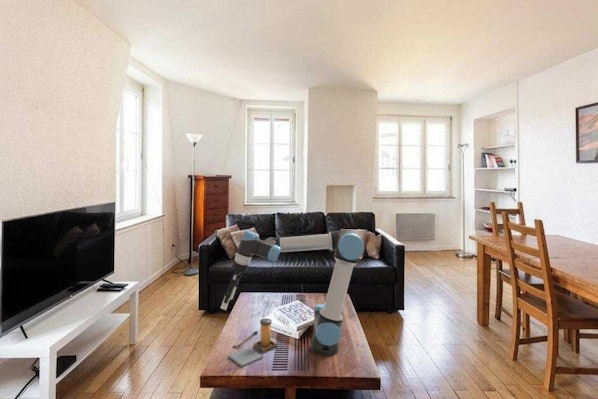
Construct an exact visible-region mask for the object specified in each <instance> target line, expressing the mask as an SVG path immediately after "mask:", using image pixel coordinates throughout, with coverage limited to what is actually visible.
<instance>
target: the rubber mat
mask: <svg viewBox="0 0 598 399" xmlns="http://www.w3.org/2000/svg"><path fill="white" fill-rule="evenodd" d="M228 358H229V359H230V360H232V361H233V362H234V363H236V364H237V365H238V366H240V367H241V368H244V367H247V366H248V365H251V364H253V363H255V362H257V361H260V360H262V359H263V358H264V357H263V355H261V354H260V353H258V352H256V350H254V349H252V348H251V347H245V348H243V349H239V350H238V351H235V352H233V353H231V354H229V355H228Z"/></svg>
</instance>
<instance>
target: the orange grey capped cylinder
mask: <svg viewBox="0 0 598 399" xmlns="http://www.w3.org/2000/svg"><path fill="white" fill-rule="evenodd" d="M259 324H260V341H261V344H260V345H259V346H261V347H262V348H264V349H265V348H267V347H269V346H272V345H271V344H270V342H271V341H272V339H271V336H272V335H271V334H272V333H271V332H272V331H271V329H272V328H271V327H272V319H270V318H261V319H260V320H259Z"/></svg>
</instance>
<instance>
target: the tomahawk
mask: <svg viewBox="0 0 598 399" xmlns="http://www.w3.org/2000/svg"><path fill="white" fill-rule="evenodd" d="M258 332H259V331H258V330H255V331H254V332H253V333H252V334H251V335H249V336H248V337H247V338H245V339H244V340H243V341H242V342H240V343H238V344H237V345H233V346H232V348H233V349H235V350H238V351H240V349H241V348H242V345H244V344H245V343H246V342H248V341H249V340H251V339H252V338H253V337H254V336H256V335H257V334H258Z"/></svg>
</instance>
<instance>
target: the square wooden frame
mask: <svg viewBox="0 0 598 399" xmlns="http://www.w3.org/2000/svg"><path fill="white" fill-rule="evenodd" d="M260 344H261V340H258V341H255V342H254V343H253V347H254V348H255V349H257V350H258V351H260V352H262V353H268V352H270V351H272V350H274V349H277V348H278V343H277V342H275V341H273V340H271V342H270V344H271V346H269V347H267V348H265V349H264V348H262V347H261V346H260Z"/></svg>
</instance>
